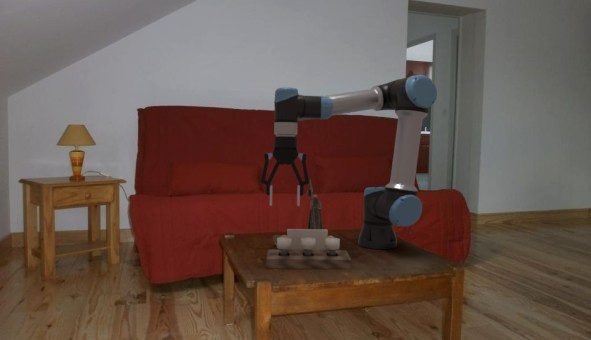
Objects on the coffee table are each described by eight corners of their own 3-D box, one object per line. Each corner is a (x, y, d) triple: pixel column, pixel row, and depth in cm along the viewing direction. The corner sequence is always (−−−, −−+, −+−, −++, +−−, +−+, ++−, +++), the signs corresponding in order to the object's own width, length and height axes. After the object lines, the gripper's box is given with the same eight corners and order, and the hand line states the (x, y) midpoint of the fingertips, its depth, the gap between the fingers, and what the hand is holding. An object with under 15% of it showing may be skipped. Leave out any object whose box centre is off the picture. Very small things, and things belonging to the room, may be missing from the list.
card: (334, 258, 149) (335, 229, 148) (334, 258, 147) (335, 230, 147) (279, 257, 148) (279, 228, 147) (279, 258, 147) (279, 229, 146)
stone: (285, 252, 156) (285, 239, 155) (271, 245, 166) (271, 233, 165) (305, 250, 160) (306, 237, 160) (291, 243, 170) (291, 231, 170)
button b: (314, 254, 144) (315, 237, 143) (315, 258, 139) (316, 240, 139) (300, 254, 144) (300, 237, 143) (301, 258, 139) (301, 240, 138)
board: (345, 258, 148) (346, 250, 148) (351, 269, 136) (351, 259, 136) (268, 258, 147) (268, 249, 147) (266, 268, 135) (266, 258, 135)
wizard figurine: (302, 241, 173) (304, 179, 172) (298, 236, 182) (300, 178, 180) (327, 240, 175) (328, 179, 174) (322, 235, 184) (323, 178, 182)
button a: (338, 254, 144) (338, 237, 144) (340, 258, 139) (340, 240, 139) (324, 254, 144) (324, 237, 143) (325, 258, 139) (326, 240, 139)
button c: (291, 254, 144) (291, 237, 143) (291, 258, 139) (291, 240, 138) (276, 254, 143) (277, 236, 143) (276, 258, 139) (276, 240, 138)
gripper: (317, 136, 143) (315, 204, 144) (254, 135, 142) (253, 203, 144) (319, 136, 135) (317, 207, 137) (252, 135, 135) (251, 206, 136)
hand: (284, 205), depth 140 cm, fingers open, 8 cm apart
